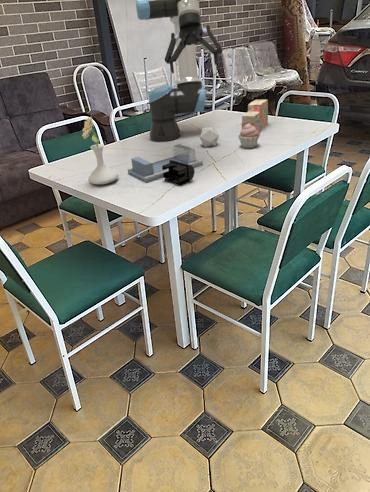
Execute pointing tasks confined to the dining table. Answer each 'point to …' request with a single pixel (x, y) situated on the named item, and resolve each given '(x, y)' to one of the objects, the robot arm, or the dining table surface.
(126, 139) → the dining table surface
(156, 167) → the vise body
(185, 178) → the end cap
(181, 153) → the block
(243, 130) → the cupcake
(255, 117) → the stack of blocks
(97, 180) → the flower in vase
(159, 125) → the robot arm
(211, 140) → the die
